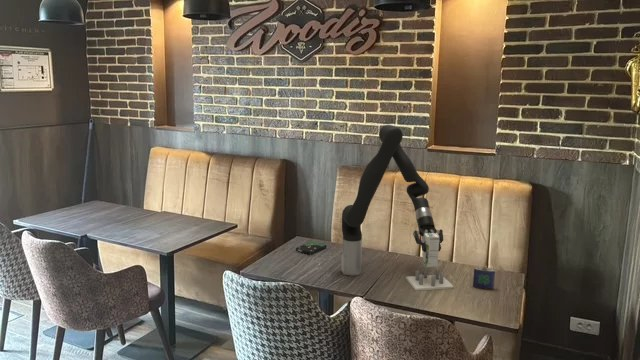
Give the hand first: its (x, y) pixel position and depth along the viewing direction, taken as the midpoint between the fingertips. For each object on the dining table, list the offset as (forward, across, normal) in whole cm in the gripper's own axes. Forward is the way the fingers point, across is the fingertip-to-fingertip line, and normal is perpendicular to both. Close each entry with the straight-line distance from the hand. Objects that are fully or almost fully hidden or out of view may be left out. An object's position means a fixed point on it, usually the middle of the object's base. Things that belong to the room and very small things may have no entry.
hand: (432, 251), depth 238 cm
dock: (+10, 0, +13) cm, 16 cm away
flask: (+16, +23, +7) cm, 29 cm away
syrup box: (+4, 0, +7) cm, 8 cm away
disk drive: (-26, -48, +50) cm, 75 cm away
